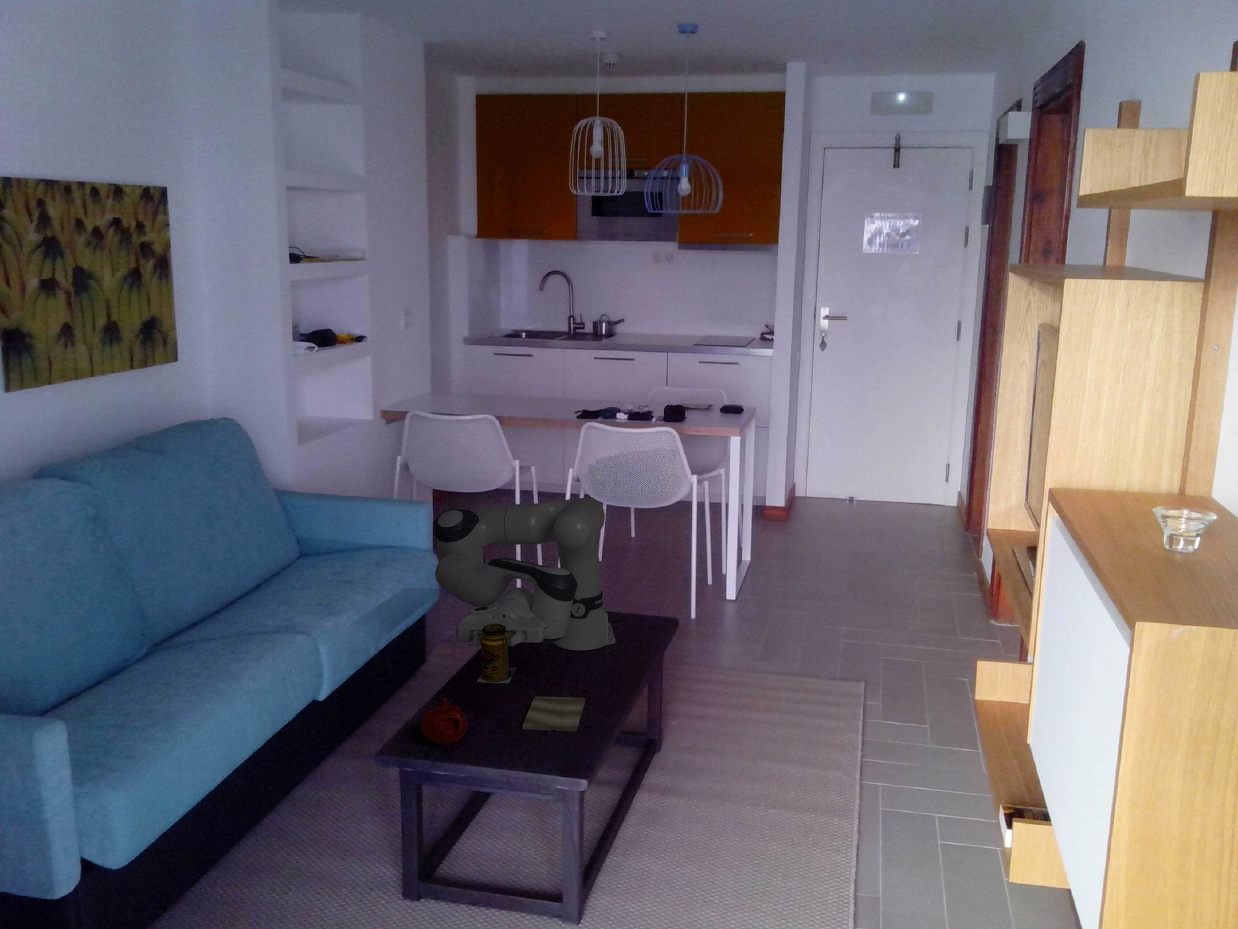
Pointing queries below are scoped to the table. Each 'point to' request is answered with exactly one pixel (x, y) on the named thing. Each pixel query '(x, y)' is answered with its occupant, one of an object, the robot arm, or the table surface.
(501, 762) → the table surface
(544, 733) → the table surface
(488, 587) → the robot arm
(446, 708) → the pomegranate
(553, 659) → the table surface
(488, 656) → the condiment
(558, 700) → the board
